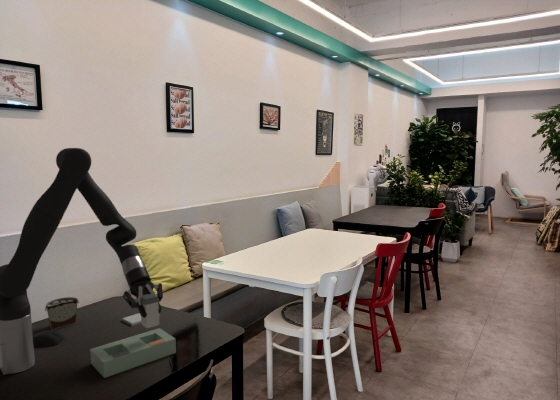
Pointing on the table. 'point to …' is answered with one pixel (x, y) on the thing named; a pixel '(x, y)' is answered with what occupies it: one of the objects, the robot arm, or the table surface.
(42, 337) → the computer mouse
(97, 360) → the socket block
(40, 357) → the table surface
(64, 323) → the food container
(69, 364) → the table surface
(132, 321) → the external hard drive
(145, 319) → the plug
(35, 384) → the table surface
